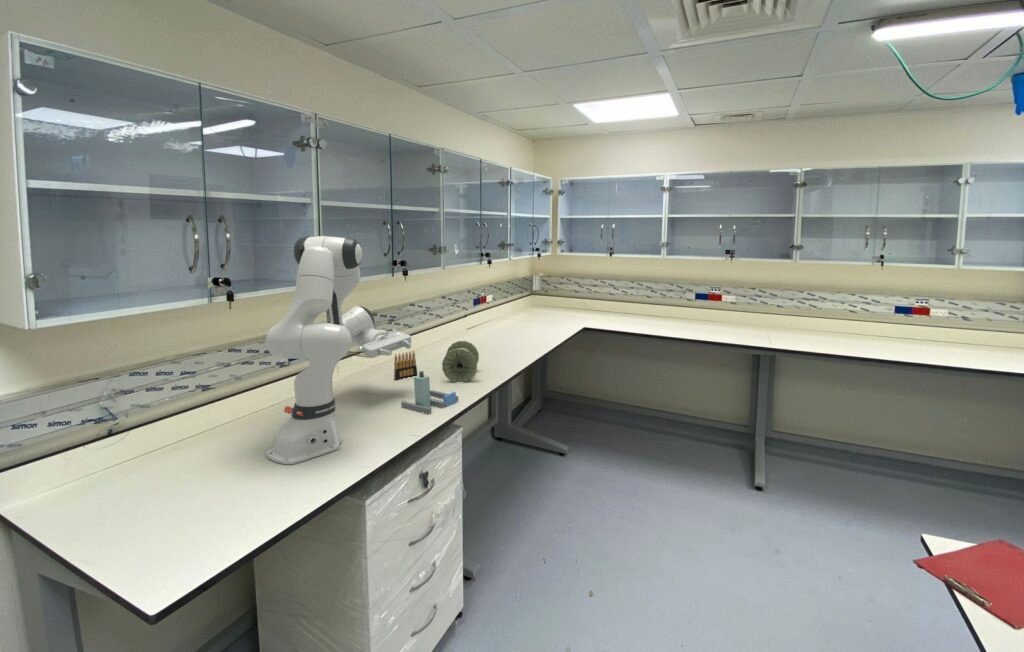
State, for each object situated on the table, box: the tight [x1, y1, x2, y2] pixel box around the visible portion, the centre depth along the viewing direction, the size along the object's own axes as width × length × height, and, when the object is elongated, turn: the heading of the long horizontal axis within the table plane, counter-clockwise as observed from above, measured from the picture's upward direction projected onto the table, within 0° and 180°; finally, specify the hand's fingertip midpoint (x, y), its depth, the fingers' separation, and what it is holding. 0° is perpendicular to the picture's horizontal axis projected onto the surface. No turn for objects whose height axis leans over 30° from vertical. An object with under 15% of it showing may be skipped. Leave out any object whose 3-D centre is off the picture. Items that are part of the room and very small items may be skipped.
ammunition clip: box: [393, 350, 418, 381], centre depth 232 cm, size 11×2×12 cm, turn 129°
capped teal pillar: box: [413, 370, 431, 408], centre depth 194 cm, size 4×4×14 cm
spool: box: [441, 340, 480, 383], centre depth 232 cm, size 16×15×15 cm
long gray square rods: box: [400, 389, 459, 415], centre depth 198 cm, size 17×14×4 cm
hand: (400, 349), depth 197 cm, fingers open, 8 cm apart
